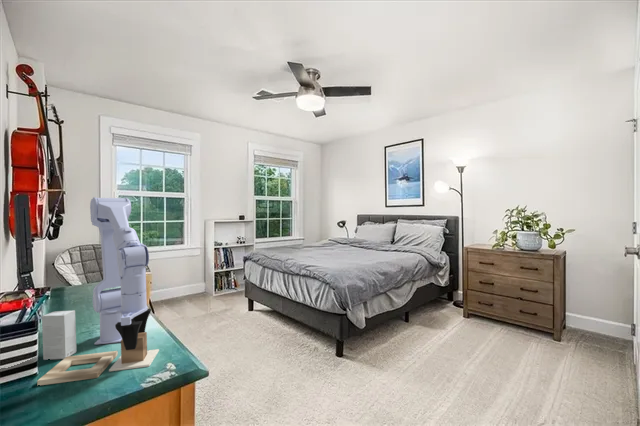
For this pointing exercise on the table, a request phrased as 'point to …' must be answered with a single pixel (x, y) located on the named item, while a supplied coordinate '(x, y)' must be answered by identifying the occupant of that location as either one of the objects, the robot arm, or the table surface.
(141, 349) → the walnut block
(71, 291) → the table surface
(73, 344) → the skincare box
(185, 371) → the table surface
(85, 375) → the board
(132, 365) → the tile
